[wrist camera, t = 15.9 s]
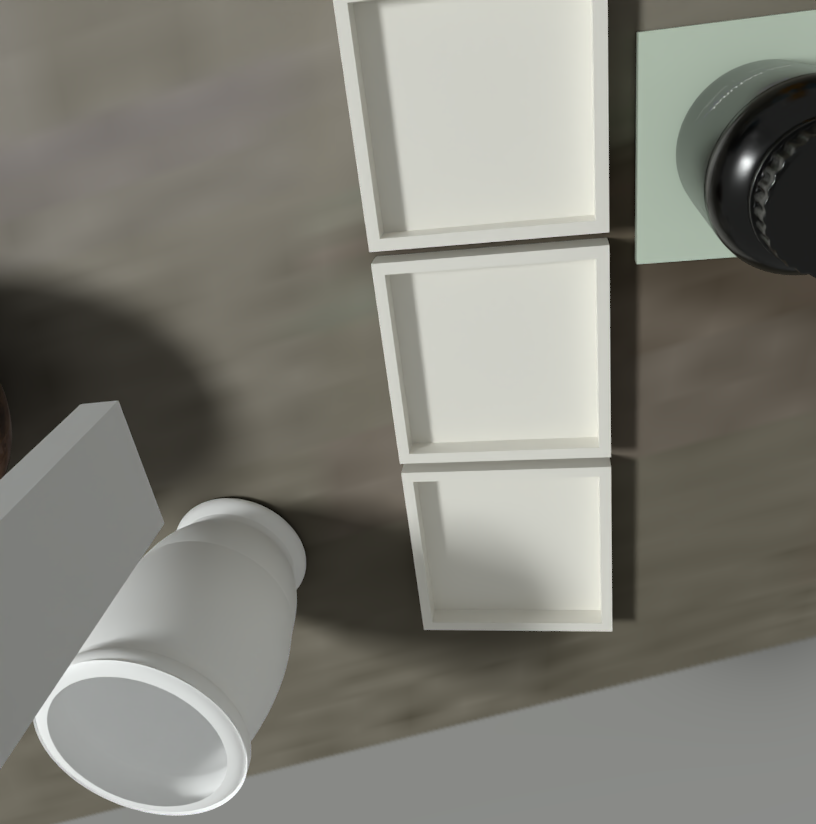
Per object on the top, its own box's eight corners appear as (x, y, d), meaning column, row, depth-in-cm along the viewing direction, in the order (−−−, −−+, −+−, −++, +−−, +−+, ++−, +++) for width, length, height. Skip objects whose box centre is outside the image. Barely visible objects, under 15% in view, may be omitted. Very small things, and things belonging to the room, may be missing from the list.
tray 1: (338, -11, 34) (331, -11, 33) (604, -50, 32) (607, -52, 31) (374, 244, 39) (369, 252, 38) (606, 225, 37) (609, 232, 36)
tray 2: (404, 460, 45) (401, 473, 44) (608, 453, 43) (611, 466, 42) (426, 614, 50) (424, 629, 49) (610, 615, 48) (612, 631, 46)
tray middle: (376, 256, 40) (371, 263, 38) (606, 237, 38) (609, 245, 36) (403, 451, 45) (399, 463, 43) (608, 444, 42) (610, 457, 41)
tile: (636, 32, 33) (638, 32, 33) (891, -1, 32) (899, -1, 31) (634, 259, 38) (636, 264, 37) (858, 242, 36) (865, 247, 35)
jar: (333, 502, 47) (254, 693, 34) (314, 628, 52) (239, 839, 39) (163, 464, 47) (20, 638, 34) (161, 593, 52) (35, 789, 39)
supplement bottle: (728, 29, 32) (822, 36, 22) (873, 99, 33) (1036, 139, 22) (641, 184, 35) (687, 256, 25) (775, 246, 36) (875, 344, 25)
